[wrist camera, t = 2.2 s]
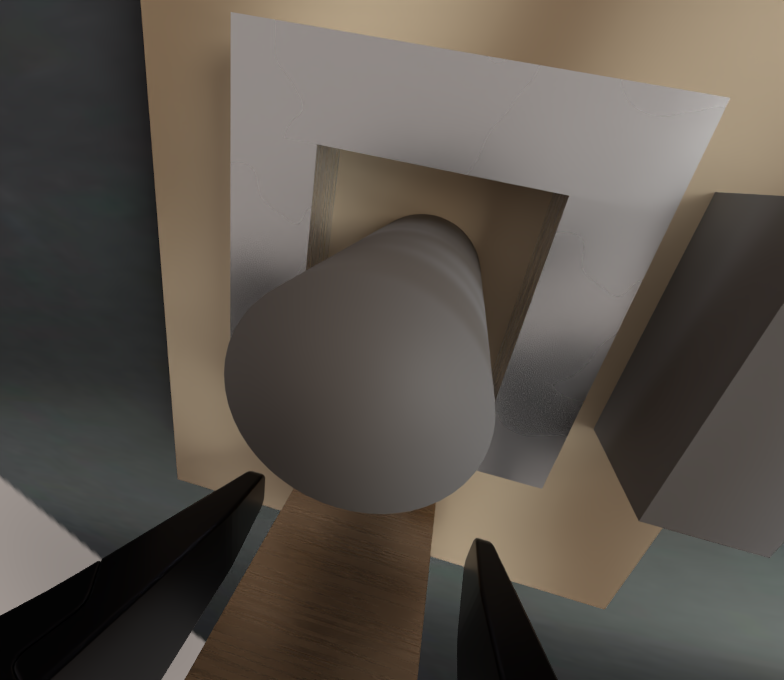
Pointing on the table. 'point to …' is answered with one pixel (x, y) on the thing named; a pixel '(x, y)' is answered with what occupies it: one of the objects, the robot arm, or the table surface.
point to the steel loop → (528, 320)
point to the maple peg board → (486, 300)
